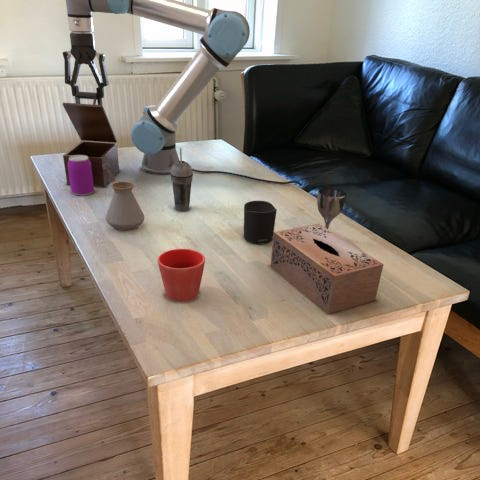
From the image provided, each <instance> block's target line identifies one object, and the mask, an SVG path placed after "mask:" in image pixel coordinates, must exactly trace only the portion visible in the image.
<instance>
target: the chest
mask: <svg viewBox="0 0 480 480" xmlns="http://www.w3.org/2000/svg"><path fill="white" fill-rule="evenodd" d="M118 151H119V150H118V142H117V143H112V142H97V141H83V140H80V141H79V142H78V143H77V144H76V145H74V146H73V147H72V148H70V149H69V150H68V151H66V153H64V154H63V155H62V158H63V165H64V171H65V178H66V179H65V180H66V186H70V179H69V172H68V160H69V157H70V156H73V155H85V156H87V157H88V158H89V160H90V162H91V168H92V177H93V186H94V188H106V187H107V186H108V184H110V182H111V181H112V180H111V178H110V176H109V175H108V171H107V170H106V169H103V168H106V167H105V165H104V164H105V163H106V164H109V165H108V167H109V168H110V171H111V172H112V173H113V176H114V177H116V175H117V174H118V173H119V172H120V164H119V161H120V160H119V152H118ZM102 165H103V168H102Z"/></svg>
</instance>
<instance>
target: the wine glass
mask: <svg viewBox="0 0 480 480" xmlns="http://www.w3.org/2000/svg"><path fill="white" fill-rule="evenodd" d="M346 199H347V192H346V191H345V190H344V189H341V188H338V187H330V186H329V187H321V188H319V189H318V191H317V198H316V204H317V210H318V213H319V214H320V216H321V217H322V218H323V220H324V224H325V225H324V227H325V228H327V229H328V230H329V227H330V225H331V223H332V221H333V220H335V219H336V218H337V217H338V216H339V215H340V214H341V213H342V211H343V210H344V209H343V208H344V206H345V203H346Z"/></svg>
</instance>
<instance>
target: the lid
mask: <svg viewBox="0 0 480 480" xmlns="http://www.w3.org/2000/svg"><path fill="white" fill-rule="evenodd" d="M76 97H77V98H76V101H75V102H62V107H63V109H64V110H65V112H66V114H67V116H68V118H69V120H70V122H71V124H72V126H73V128H74V130H75V132H76V133H77V135H78V137H79V140H80V141H91V142H105V143H117V144H118V140H117V138H116V135H115V132H114V131H113V128H112V125H111V122H110V120H109V118H108V115H107V113H106V110H105V108H104V105H103V104H102V105H98V104H96V103H97V92H95V91H93V92H92V91H79V92H78V91H77V92H76ZM79 99H80V100H81V99H82V100H93V101H92V104H90V103H81V104H78V102H79Z"/></svg>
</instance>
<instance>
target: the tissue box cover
mask: <svg viewBox="0 0 480 480" xmlns="http://www.w3.org/2000/svg"><path fill="white" fill-rule="evenodd" d="M270 268H271V269H273V270H274V271H275V272H277V273H278V274H279V275H280V276H282V277H283V278H284V279H285V280H286V281H288V282H289V283H290V284H291V285H292V286H293V287H295V288H296V289H297V290H298V291H300V292H301V293H302V294H304V295H305V296H306V297H307V298H308V299H309V300H311V301H312V302H313V303H314V304H315V305H317V306H318V307H319V308H320V309H322V311H324V312H325V313H327V314H329V315H330V314H333V313H336V312H339V311H344V310H347V309H350V308H353V307H357V306H360V305H363V304H364V305H365V304H367V303H372V302H374V301H376V299H377V295H378V290H379V285H380V281H381V278H382V272H383V269H384V263H383V262H381V261H379V260H377V259H376V258H374V257H373V256H371V255H370V254H368V253H366V252H365V251H363V250H362V249H360V248H358V247H357V246H356V245H354V244H352V243H350V242H349V241H348V240H346V239H344V238H342V237H341V236H340V235H338V234H336V233H335V232H333V231H331V230H330V229H329V228H328V229H327V228H325V225H324V226H323V225H322V224H320V223H314V224H309V225H308V224H307V225H304V226H298V227H292V228H288V229H282V230H277V231H274V233H273V239H272V246H271V257H270Z"/></svg>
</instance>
